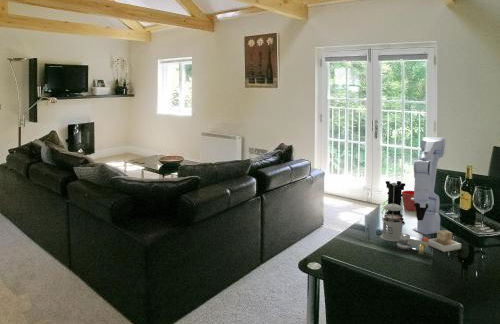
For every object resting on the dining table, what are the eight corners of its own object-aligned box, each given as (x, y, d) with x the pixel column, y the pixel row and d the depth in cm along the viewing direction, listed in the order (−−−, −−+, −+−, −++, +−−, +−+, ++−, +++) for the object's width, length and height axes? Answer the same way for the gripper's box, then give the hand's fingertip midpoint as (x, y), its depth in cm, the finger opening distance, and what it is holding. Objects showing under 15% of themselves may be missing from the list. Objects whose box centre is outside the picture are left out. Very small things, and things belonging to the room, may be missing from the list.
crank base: (404, 243, 166) (405, 235, 166) (427, 253, 155) (427, 245, 154) (393, 245, 164) (393, 237, 164) (415, 255, 153) (415, 247, 152)
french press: (388, 242, 168) (391, 185, 164) (373, 233, 179) (375, 180, 175) (408, 240, 170) (411, 183, 166) (392, 231, 181) (394, 179, 178)
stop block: (442, 247, 159) (443, 233, 159) (436, 244, 163) (437, 230, 162) (451, 247, 160) (452, 233, 159) (444, 243, 164) (445, 229, 163)
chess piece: (404, 223, 193) (406, 184, 190) (388, 223, 193) (389, 184, 190) (398, 218, 201) (400, 180, 198) (383, 219, 201) (384, 180, 198)
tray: (443, 241, 168) (443, 236, 167) (460, 248, 159) (461, 243, 159) (426, 244, 165) (427, 239, 164) (444, 252, 156) (444, 246, 156)
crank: (397, 242, 162) (398, 233, 161) (401, 240, 165) (401, 231, 164) (425, 249, 155) (426, 239, 154) (429, 246, 158) (429, 236, 157)
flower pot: (396, 207, 222) (397, 191, 220) (412, 206, 225) (413, 189, 223) (409, 212, 212) (410, 195, 210) (426, 210, 215) (427, 193, 213)
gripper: (409, 184, 172) (408, 214, 174) (412, 191, 158) (411, 224, 160) (427, 185, 170) (425, 215, 172) (431, 192, 156) (429, 225, 158)
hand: (419, 219), depth 166 cm, fingers closed
